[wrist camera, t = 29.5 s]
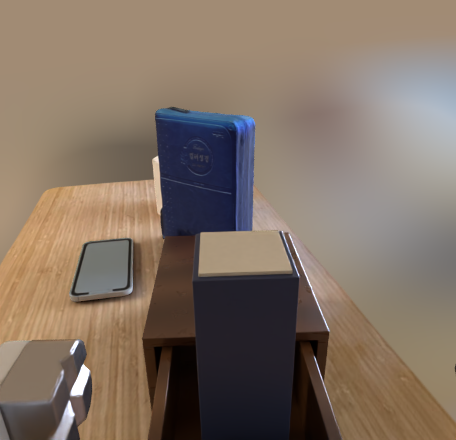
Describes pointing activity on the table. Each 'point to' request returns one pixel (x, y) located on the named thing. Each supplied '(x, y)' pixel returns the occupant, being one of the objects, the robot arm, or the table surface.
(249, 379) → the box
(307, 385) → the drawer
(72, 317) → the table surface
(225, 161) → the book
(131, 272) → the smartphone
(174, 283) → the cabinet
